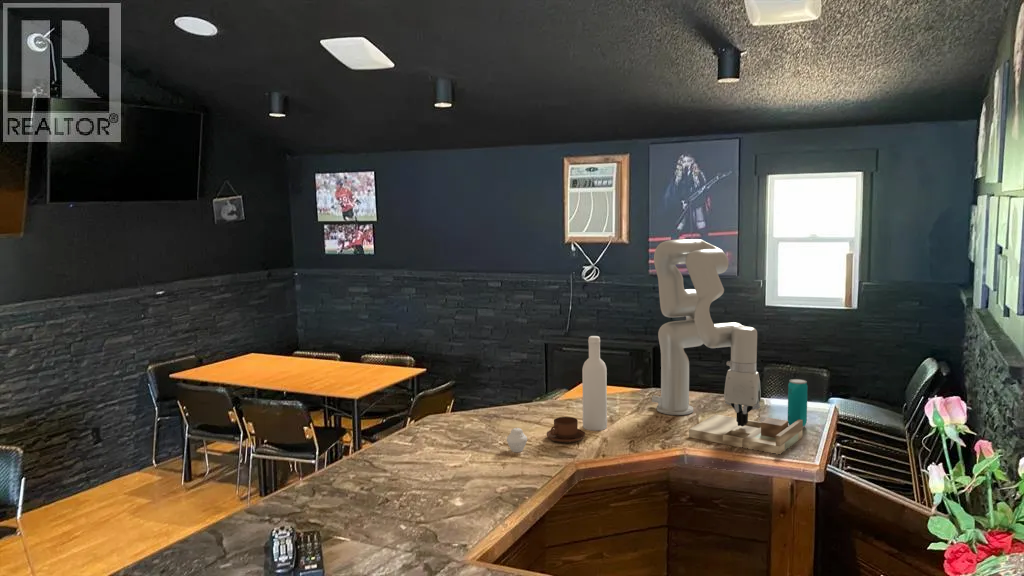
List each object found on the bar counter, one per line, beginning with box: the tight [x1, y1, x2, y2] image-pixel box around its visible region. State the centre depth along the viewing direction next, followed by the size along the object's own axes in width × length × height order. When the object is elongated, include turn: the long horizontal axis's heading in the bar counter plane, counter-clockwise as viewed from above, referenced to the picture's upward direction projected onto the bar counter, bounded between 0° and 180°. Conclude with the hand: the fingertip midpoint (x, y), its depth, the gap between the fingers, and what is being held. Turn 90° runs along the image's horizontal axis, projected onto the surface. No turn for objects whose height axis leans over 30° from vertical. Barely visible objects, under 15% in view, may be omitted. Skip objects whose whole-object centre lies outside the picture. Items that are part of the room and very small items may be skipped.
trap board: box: [688, 413, 804, 455], centre depth 222 cm, size 28×20×6 cm
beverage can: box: [787, 378, 809, 429], centre depth 231 cm, size 6×6×15 cm
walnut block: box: [760, 417, 789, 438], centre depth 216 cm, size 6×6×4 cm
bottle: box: [581, 335, 608, 432], centre depth 234 cm, size 8×8×30 cm
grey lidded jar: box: [506, 427, 528, 453], centre depth 213 cm, size 6×6×7 cm
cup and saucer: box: [546, 416, 586, 444], centre depth 223 cm, size 12×12×6 cm
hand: (742, 424), depth 223 cm, fingers closed
